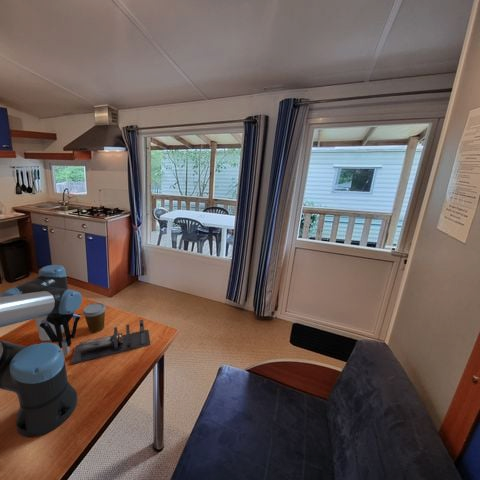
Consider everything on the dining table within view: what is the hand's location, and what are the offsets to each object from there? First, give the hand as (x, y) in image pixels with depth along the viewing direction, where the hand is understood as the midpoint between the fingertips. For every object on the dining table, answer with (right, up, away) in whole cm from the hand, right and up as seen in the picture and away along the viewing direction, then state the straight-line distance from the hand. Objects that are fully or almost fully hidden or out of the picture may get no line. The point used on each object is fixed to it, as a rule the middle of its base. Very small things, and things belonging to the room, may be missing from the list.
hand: (66, 352), depth 93 cm
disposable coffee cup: (+1, +3, +18) cm, 19 cm away
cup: (-16, +2, +12) cm, 20 cm away
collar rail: (+15, -1, +9) cm, 17 cm away
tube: (+11, 0, +6) cm, 13 cm away
